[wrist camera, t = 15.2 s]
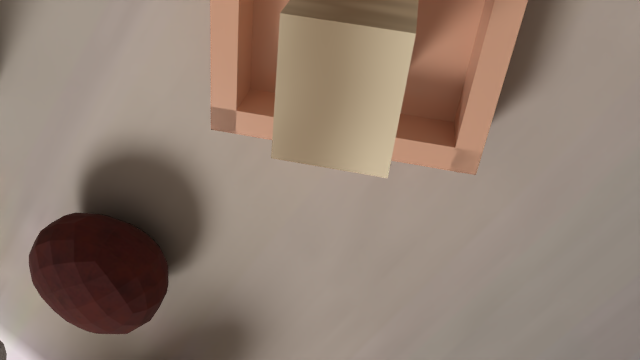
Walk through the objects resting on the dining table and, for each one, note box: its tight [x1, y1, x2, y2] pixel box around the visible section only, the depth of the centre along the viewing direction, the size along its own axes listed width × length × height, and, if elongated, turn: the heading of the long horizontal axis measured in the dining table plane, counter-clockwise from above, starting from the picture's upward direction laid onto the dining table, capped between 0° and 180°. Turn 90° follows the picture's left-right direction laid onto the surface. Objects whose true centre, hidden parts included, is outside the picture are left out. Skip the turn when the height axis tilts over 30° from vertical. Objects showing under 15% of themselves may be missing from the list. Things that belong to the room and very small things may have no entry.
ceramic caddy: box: [210, 0, 528, 175], centre depth 25 cm, size 12×11×4 cm
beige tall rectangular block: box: [271, 0, 419, 178], centre depth 22 cm, size 4×5×9 cm
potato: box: [29, 213, 168, 334], centre depth 34 cm, size 7×8×6 cm
